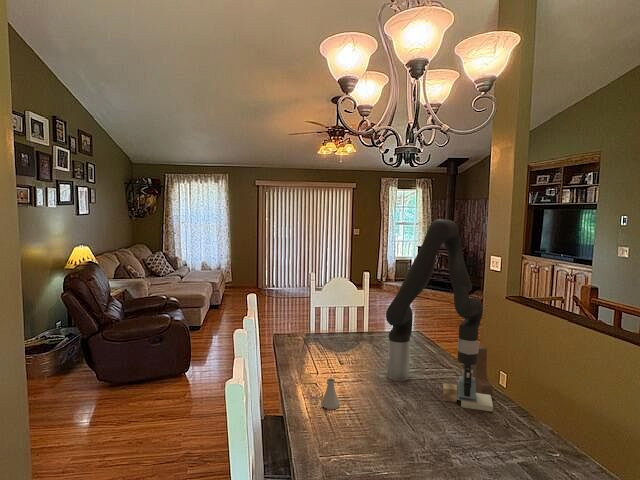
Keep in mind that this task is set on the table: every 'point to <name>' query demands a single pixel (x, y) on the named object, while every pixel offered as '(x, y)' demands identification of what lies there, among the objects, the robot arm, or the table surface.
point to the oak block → (450, 392)
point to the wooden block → (482, 373)
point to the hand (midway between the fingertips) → (466, 392)
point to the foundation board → (477, 402)
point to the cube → (472, 389)
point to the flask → (330, 396)
